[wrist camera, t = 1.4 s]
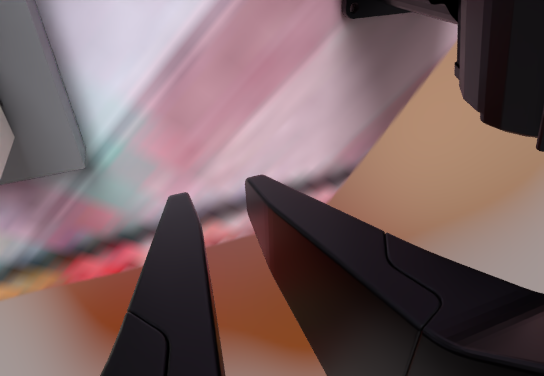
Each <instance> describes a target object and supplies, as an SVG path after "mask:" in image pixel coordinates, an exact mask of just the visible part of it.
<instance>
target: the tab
mask: <svg viewBox="0 0 544 376" xmlns="http://www.w3.org/2000/svg"><path fill="white" fill-rule="evenodd" d="M14 138H15V137H14V134H13V132H12V130H11V128H10V126H9V124H8V121H7V119H6V117H5V115H4V113H3V111H2V108H1V106H0V179H1V176H2V173H3V170H4V167H5V164H6V161H7V158H8V155H9V153H10V150H11V147H12V144H13V141H14Z"/></svg>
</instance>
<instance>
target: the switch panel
mask: <svg viewBox="0 0 544 376" xmlns="http://www.w3.org/2000/svg"><path fill="white" fill-rule="evenodd" d="M0 106H1V108H2V111H3V113H4V115H5V117H6V119H7V121H8V124H9V126H10V128H11V130H12V132H13V134H14V137H15V138H14V141H13V144H12V147H11V150H10V153H9V155H8V158H7V161H6V164H5V167H4V170H3V173H2V176H1V179H0V185H3V184H8V183H13V182H18V181H23V180H28V179H33V178H38V177H43V176H48V175H54V174H59V173H64V172H69V171H74V170H79V169H84V168H85V157H86V148H85V145H84V142H83V139H82V136H81V133H80V130H79V127H78V125H77V122H76V119H75V116H74V113H73V110H72V107H71V104H70V101H69V98H68V96H67V93H66V90H65V87H64V84H63V81H62V78H61V75H60V72H59V69H58V67H57V64H56V61H55V58H54V55H53V52H52V49H51V46H50V43H49V40H48V38H47V35H46V32H45V29H44V26H43V23H42V20H41V17H40V14H39V11H38V9H37V6H36V3H35V0H0Z"/></svg>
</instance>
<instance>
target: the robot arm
mask: <svg viewBox="0 0 544 376" xmlns="http://www.w3.org/2000/svg"><path fill="white" fill-rule="evenodd" d="M353 3H354V5H355V7H354V10H353V11H352V12H350V7H351V5H352V4H353ZM342 12H343V15H344V16H346V17H348V18H352V19H355V18H364V17H373V16H382V15H390V14H399V13H408V12H415V13H419V14H422V15H426V16H429V17H433V18H436V19H440V20H443V21H447V22H450V23H454V24H457V25H458V44H457V47H458V48H457V62H455V76H456V77H457V78H458V79H459V87H460V90H461V93H462V96H463V99H464V100H465V101H466V102H467V103H469V104H470V105H471V106H472V107H473V108H474V109H475V110H477V111H478V112H480V119H481V121H482V122H483V123H485V124H487V125H490V126H492V127H495V128H497V129H500V130H503V131H505V132H509V133H513V134H518V135H522V136H528V137H535V138H538V139H537V144H536V149H537V150H539V151H542V152H544V0H342ZM245 191H246V204H247V212H248V215H249V218H250V221H251V224H252V226H253V229H254V231H255V234H256V236H257V239H258V241H259V244H260V247H261V249H262V252H263V254H264V257H265V259H266V262H267V264H268V267H269V269H270V271H271V273H272V275H273V277H274V279H275V281H276V283H277V285H278V287H279V288H280V290H281V292H282V294H283V296H284V297H285V299H286V301H287V303H288V305H289V307H290V309H291V310H292V312H293V314H294V316H295V318H296V320H297V321H298V323H299V325H300V327H301V329H302V331H303V332H304V334H305V336H306V338H307V340H308V341H309V343H310V345H311V347H312V349H313V351H314V353H315V354H316V356H317V358H318V360H319V362H320V363H321V365H322V367H323V369H324V371H325V373H326V374H327V376H544V294H543V293H538V292H535V291H531V290H529V289H526V288H523V287H520V286H518V285H515V284H512V283H510V282H507V281H504V280H502V279H499V278H497V277H494V276H491V275H488V274H486V273H483V272H480V271H478V270H475V269H472V268H470V267H467V266H465V265H462V264H459V263H457V262H454V261H452V260H449V259H447V258H444V257H441V256H439V255H437V254H434V253H431V252H429V251H427V250H424V249H422V248H420V247H418V246H415V245H413V244H411V243H409V242H406V241H404V240H402V239H400V238H397V237H395V236H393V235H391V234H389V233H386V234H385V232H384V231H382V230H380V229H378V228H376V227H374V226H372V225H370V224H367V223H365V222H363V221H361V220H359V219H357V218H355V217H353V216H350V215H348V214H346V213H344V212H342V211H340V210H337V209H335V208H333V207H331V206H329V205H327V204H325V203H323V202H321V201H318V200H316V199H314V198H312V197H310V196H308V195H306V194H303V193H301V192H299V191H297V190H295V189H293V188H291V187H289V186H286V185H284V184H282V183H280V182H278V181H276V180H274V179H271V178H269V177H267V176H265V175H258V176H253V177H249V178H247V179H246V181H245ZM127 312H128V313H126V315H125V317H124V320H123V323H122V325H121V328H120V331H119V334H118V336H117V338H116V341H115V343H114V346H113V348H112V351H111V353H110V356H109V358H108V361H107V363H106V364H105V367H104V369H103V371H102V373H101V375H100V376H225V370H224V363H223V357H222V350H221V343H220V337H219V330H218V323H217V316H216V310H215V304H214V296H213V290H212V285H211V279H210V273H209V267H208V260H207V254H206V248H205V242H204V236H203V230H202V225H201V222H200V219H199V217H198V214H197V212H196V210H195V207H194V205H193V203H192V200H191V198H190V196H189V194H188V193H186V192H184V193H180V194H175V195H171V196H169V197H168V200H167V202H166V205H165V208H164V211H163V213H162V216H161V219H160V222H159V224H158V227H157V230H156V233H155V235H154V238H153V241H152V244H151V246H150V249H149V252H148V255H147V257H146V260H145V263H144V266H143V268H142V272H141V274H140V277H139V279H138V282H137V285H136V288H135V290H134V293H133V296H132V299H131V301H130V304H129V307H128V309H127Z"/></svg>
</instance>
